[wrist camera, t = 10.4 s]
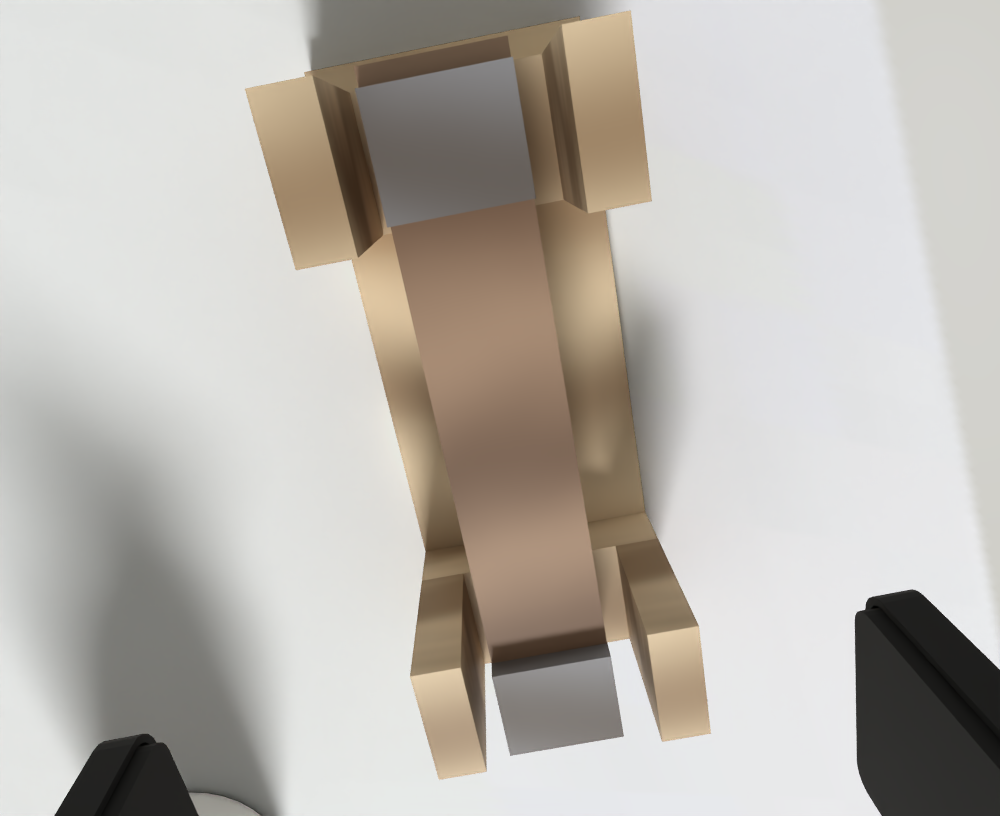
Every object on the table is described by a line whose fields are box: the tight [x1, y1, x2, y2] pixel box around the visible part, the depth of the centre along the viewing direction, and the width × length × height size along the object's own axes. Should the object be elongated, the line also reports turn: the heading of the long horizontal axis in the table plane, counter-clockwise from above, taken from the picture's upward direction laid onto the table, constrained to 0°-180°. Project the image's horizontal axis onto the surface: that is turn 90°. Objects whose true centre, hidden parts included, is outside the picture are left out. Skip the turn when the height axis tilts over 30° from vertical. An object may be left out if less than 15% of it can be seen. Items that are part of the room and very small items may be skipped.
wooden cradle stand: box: [245, 11, 711, 780], centre depth 23 cm, size 22×8×8 cm, turn 11°
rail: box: [354, 35, 624, 756], centre depth 21 cm, size 20×4×5 cm, turn 11°
